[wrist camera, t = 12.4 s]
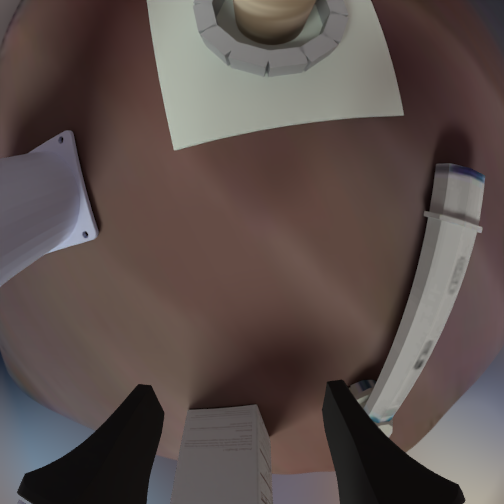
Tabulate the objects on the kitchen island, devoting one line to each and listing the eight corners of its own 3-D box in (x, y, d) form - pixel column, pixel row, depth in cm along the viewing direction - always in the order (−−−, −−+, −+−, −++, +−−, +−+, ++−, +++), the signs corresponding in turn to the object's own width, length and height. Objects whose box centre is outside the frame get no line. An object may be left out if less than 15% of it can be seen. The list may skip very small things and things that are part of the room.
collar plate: (177, 149, 15) (163, 150, 13) (147, -21, 10) (133, -39, 8) (398, 116, 14) (420, 113, 12) (342, -47, 9) (352, -66, 7)
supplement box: (209, 441, 27) (198, 533, 15) (186, 407, 24) (164, 518, 12) (271, 437, 26) (275, 535, 14) (259, 402, 23) (261, 524, 12)
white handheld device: (502, 184, 12) (387, 461, 18) (447, 180, 18) (368, 417, 24) (455, 158, 12) (339, 468, 18) (400, 162, 18) (324, 420, 24)
